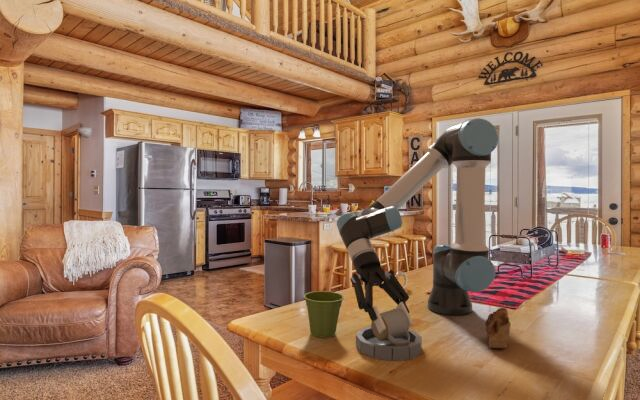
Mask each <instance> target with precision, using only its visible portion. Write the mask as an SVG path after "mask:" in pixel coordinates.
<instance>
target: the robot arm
mask: <svg viewBox="0 0 640 400" xmlns="http://www.w3.org/2000/svg"><path fill="white" fill-rule="evenodd" d="M498 143H499V133H498V130H497V128H496V127H495V126H494V125H493V123H491V121H489V120H487V119H484V118H479V117H478V118H471V119H467V120H465V121H462V122H460V123H457V124H454V125H451V126H450V127H448V128H447V129H446V130H445V131H444V132H443V133H441V135H440V136H439V137H438V138H437V139H436V140H434V142H433V143H432V144H431V145H429V147H427V150H426V153H425V154H424V155H423V156H422V157H421V158H420V159H419V160H418V161H417V162H415V163H414V164H413V166H412V167H410V168H409V169H407V171H406V172H405V173H404V174H403V175H402V176H400V178H398V180H397V181H395V182H394V183H393V184H392V185H391V186H390V187H389V188H388V189H387V190H386V191H384V193H382V195H380V196H379V197H378V198H377V199H376V200H375V201H374V202H373V203H371V205H370V206H369V207H368V206H367V207H366V208H365V207H364V209H362V210H361V212H360V214H359V215H358V214H357V213H356V212H352V211H351V212H350V211H349V212H348V211H347V212H345V213H343V214H342V215H340V216H339V217H338V219H337V220H336V227H337V229H338V233H339V236H340V238H341V240H342V241H343V244H344V246H345V248H346V251H347V253H348V256H349V257H350V261H351V262H352V265H353V267H354V269H355V272H356V273H355V272H354V273H353V274H352V276H351V277H350V282H351V283H352V285H353V289H354V293H355V297H356V302H357V305H358V306H357V307H358V309H359V310H362V311H363V310H364V312H365V313H368V316H369V318H370V320H371V322H372V321H374V322H375V325H376V327H377V329H378V332H379V334H381V333H382V332H383V331H384V330H385V329H386V327H385V325H384V322H383V320H382V318H381V316H380V311H379V309H378V306H377V305H374V293H373V291H374V290H373V288H374V287H379V288H380V289H381V290H383V291H384V292H385V293H386V294H387V296H389V297H390V298H391V299H392V300H393V302H394V303H395V305H397V306H396V308H395V309H399V310H401V311H402V312H403V313H404V314H405V316H406V317H407V320H408V323H409V329H410V327H412V325H413V324H414V321H413V319H412V318H411V316H410V310H409V308H408V306H407V304H406V303H407V301H408V300H409V299H410V296H409V294H408V293H407V292H406V290H405V288H404V289H403V285H402V284H401V283H400V282H399V279H398V280H397V278H396V277H395V275H396V274H395V271H394V270H393V269H390V270H389V271H387V270H386V271H385V269H383V268H382V264H381V261H380V259H379V257H378V255H377V253H376V250H375V248H374V245H373V244H372V242H371V239H373V238H376V237H379V236H382V235H385V234H389V233H392V232H394V231H396V230H399V229H401V228H402V225H403V219H402V216H401V212H400V211H399V209H401V208H402V207H403V206H404V205H406V203H407V202H408V201H409V200H410V199H411V198H412V197H414V195H416V194H417V193H418V192H419V191H420V190H421V189H422V188H423V187H424V186H426V185H427V183H428V182H429V181H431V180H432V179H433V178H434V177H435V176H436V175H437V174H438V173H440V171H441V170H443V169H448V168H449V167H450V166H451V165H454V167H455V168H456V186H455V187H456V189H455V190H456V197H455V201H456V202H455V236H454V237H455V241H454V242H453V244H437V245H434V248H433V254H432V262H433V263H432V265H433V266H432V274H433V275H432V288H431V290H430V293H429V296H428V299H427V308H428V310H430V311H432V312H434V313H437V314H441V315H446V316H447V315H449V316H464V315H469V314H472V312H473V302H472V301H471V298H470V293H469V292H471V293H481V292H483V291H485V290H487V288H489V287H490V286H491V285H492V283H494V280H495V277H496V269H495V266H494V263H492V261H491V260H490V259H489V257H490V256H489V255H490V251H489V249H490V248H489V247H488V246H487V245H486V244H485V241H484V240H485V207H486V206H485V202H486V201H485V200H486V199H485V197H486V168H487V167H488V166H489V164H491V161H492V152H493V151H494V150H495V149H496V148H497V146H498ZM362 282H363V283H364V286H363V284H362ZM363 287H364V288H363Z"/></svg>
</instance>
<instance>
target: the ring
mask: <svg viewBox="0 0 640 400" xmlns="http://www.w3.org/2000/svg"><path fill="white" fill-rule="evenodd" d="M394 275H395V277H396V278H397V280H398V281H399V279H400V277H403V278H404V279H403V280H404V283H403V285H402V287H403V289H404V290H405V288H406V287H407V285H408V274H407V273H406V272H404V271H403V270H402V271H401V270H398V271H397V272H396V273H395V274H394Z"/></svg>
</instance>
